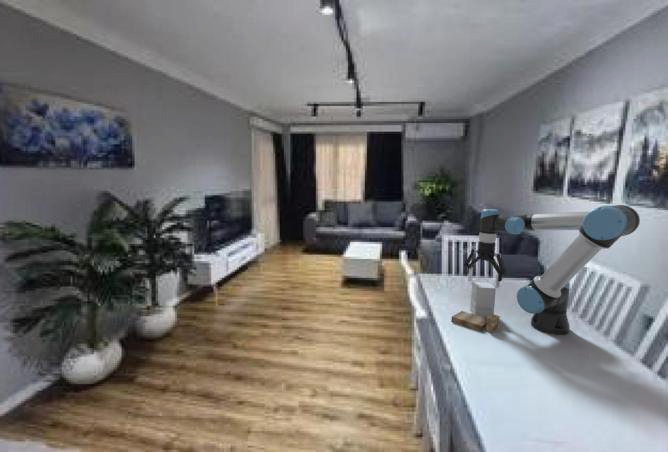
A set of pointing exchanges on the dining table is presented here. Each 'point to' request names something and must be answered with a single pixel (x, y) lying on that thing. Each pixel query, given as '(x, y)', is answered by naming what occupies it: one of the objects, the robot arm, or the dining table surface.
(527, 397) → the dining table surface
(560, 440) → the dining table surface
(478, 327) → the brown wooden slab
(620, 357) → the dining table surface
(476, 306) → the supplement box
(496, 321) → the bench dog
